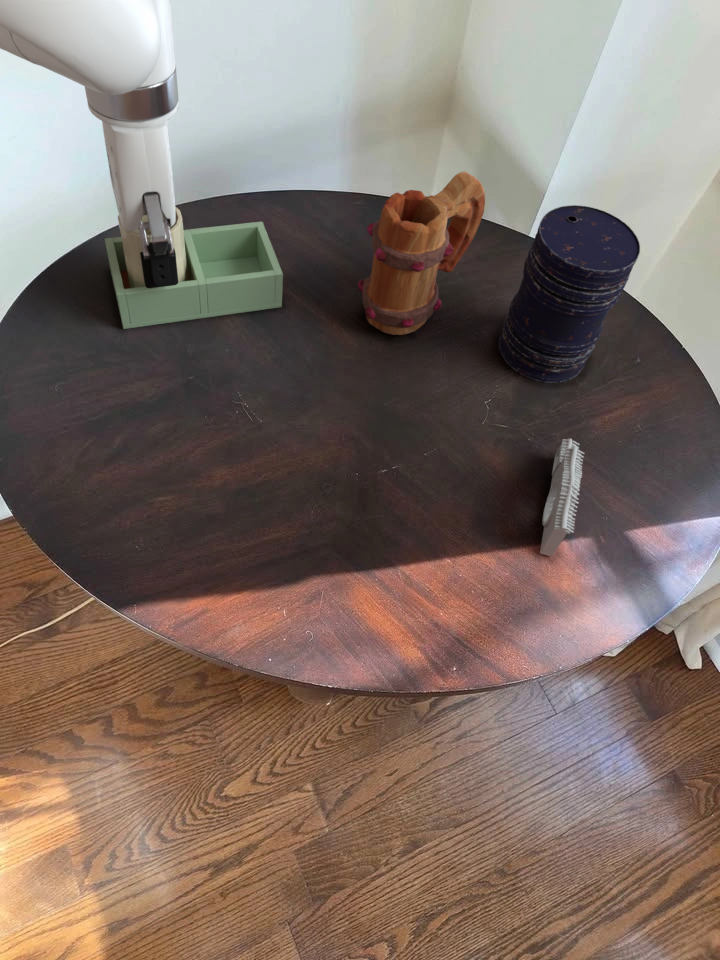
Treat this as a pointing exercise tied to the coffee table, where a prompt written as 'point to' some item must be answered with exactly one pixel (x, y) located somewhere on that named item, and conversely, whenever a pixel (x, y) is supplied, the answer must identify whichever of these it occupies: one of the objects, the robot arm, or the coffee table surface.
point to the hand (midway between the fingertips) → (153, 252)
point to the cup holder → (205, 278)
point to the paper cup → (134, 245)
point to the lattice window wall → (562, 496)
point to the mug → (418, 252)
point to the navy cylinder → (567, 292)
